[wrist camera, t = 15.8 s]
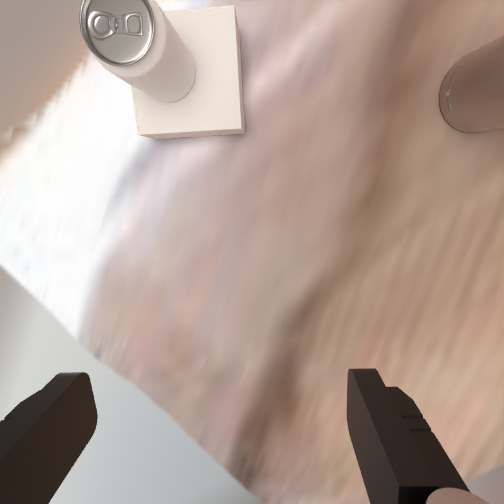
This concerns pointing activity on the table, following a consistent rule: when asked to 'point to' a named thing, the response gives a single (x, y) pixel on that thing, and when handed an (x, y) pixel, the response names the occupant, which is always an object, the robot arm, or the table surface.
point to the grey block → (200, 80)
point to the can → (138, 46)
